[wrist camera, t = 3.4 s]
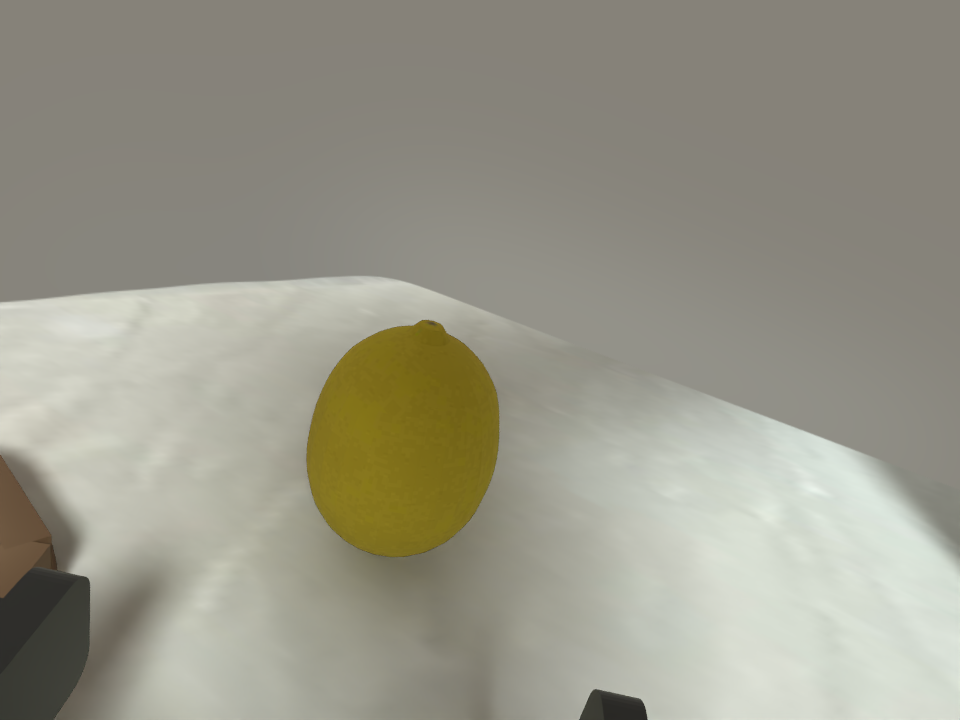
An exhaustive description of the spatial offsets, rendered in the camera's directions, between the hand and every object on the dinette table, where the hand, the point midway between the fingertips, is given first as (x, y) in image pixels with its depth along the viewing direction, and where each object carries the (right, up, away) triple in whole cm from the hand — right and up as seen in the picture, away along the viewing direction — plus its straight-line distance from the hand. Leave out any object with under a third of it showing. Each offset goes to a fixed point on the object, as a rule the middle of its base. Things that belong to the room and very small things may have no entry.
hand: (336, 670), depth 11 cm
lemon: (-1, -1, +12) cm, 12 cm away
